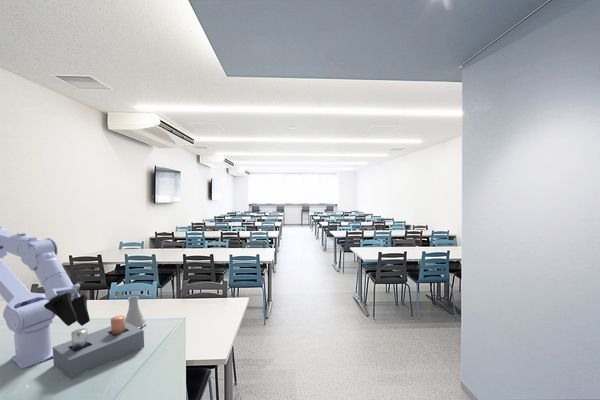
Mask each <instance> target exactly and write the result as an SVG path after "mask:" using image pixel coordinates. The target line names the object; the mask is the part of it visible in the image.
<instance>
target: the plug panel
mask: <svg viewBox="0 0 600 400" xmlns="http://www.w3.org/2000/svg"><path fill="white" fill-rule="evenodd" d="M125 331H126V332H124V333H122V334H119V335H117V336H113V335H112V334H111V325H110V326H107V327H105V328H104V327H103V328H101V329H98V330H97V331H94V332H91V333H88V347H86V348H83V349H81V350H78V351H73V350H72V339H71V340H69V341H66V342H63V343H61V344H58V345H55V346H52V350H53V357H52V358H53V359H52V360H53V366H54V367H55V368H56V369H58V370H59V371H60V372H61V373H63V374H64V375H65V376H66V377H68V379H70V380H73V379H75V378H77V377H79V376H82V375H84V374H86V373H88V372H87V371H89V372H90V370H91V371H93V370H95V369H97V368H99V367H102V366H105V365H106V364H109V363H111V362H114V361H116V360H117V359H119V358H122V357H124V356H126V355H129V354H130V353H133V352H136V351H138V350H140V349H142V348H144V347H145V334H144V331H145V330H143V328H141V329H140V328H138V327H136V326H133V325H131V324H129V323H127V322H125ZM92 369H93V370H92ZM85 372H86V373H85ZM83 373H84V374H83ZM81 374H82V375H81Z"/></svg>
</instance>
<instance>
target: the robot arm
mask: <svg viewBox="0 0 600 400" xmlns="http://www.w3.org/2000/svg"><path fill="white" fill-rule="evenodd" d="M8 253H9V254H12V255H13V256H17V257H19V258H20V261H21V262H22V263H23V265H26V266H27V267H28V268H29V270H30V271H34V274H35V275H36V277H37V280H39V282H40V285H41V286H42V288H43V290H44V293H39V292H32V291H30V290H29V289H28V288H27V287H26V285H24V284H23V282H22V281H21V280H20V279H19V278H18V277H17V276H16V275H15V274H14V272H13V271H12V269H10V268H9V267H8V266H7V265H6V263H5V262H4V261H3V260H2V259H3V258H5V257H6V256H7V255H8ZM80 287H81V285H80V284H79V283H76V284H73V282H72V281H71V279H70V277H69V275H68V273H67V271H66V270H65V268H64V266H63V265H62V263H61V261H60V260H59V258H58V245H57V243H56V242H55V240H53V239H51V238H50V237H48V238H44V239H39V238H37V237H36V236H30V235H27V233H26V232H17V233H15V234H12V233H10V232H8V229H7V228H6V227H3V226H0V296H1V297H2V298H3V300H4V301H5V302H6V303H7V304H6V305H5V307H4V309H3V312H2V318H3V319H4V320H5V322H6V327H7V328H8V330H10V331H12V332H13V333H14V335H13V336H14V338H13V339H14V352H15V353H14V355H11V357H10V359H12V361H13V362H14V363H15V364H16V365H18V366H19V367H20V369H26V368H29V367H31V366H33V365H36V364H39V363H42V362H44V361H46V360H49V359H52V358H53V351H52V350H53V349H52V339H51V338H52V337H51V327H50V325H51V324H53V319H55V317H56V316H57V317H58V318H59V319H60V320H61V321H62V322H63V323H64V324H65V325H66V326H67V327H70V326H71V325H73V324H74V323H76V322H77V323H78V324H79V325H80V326H85V325H86V324H87V323H89V322H90V321H91V319H90V315H89V311H88V296H87V295H86V294H82V295H80V294H79V292H78V289H79V288H80ZM51 349H52V350H51ZM51 357H52V358H51Z"/></svg>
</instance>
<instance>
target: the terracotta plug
mask: <svg viewBox="0 0 600 400" xmlns="http://www.w3.org/2000/svg"><path fill="white" fill-rule="evenodd" d="M125 319H126V317H125V315H116V316H113V317H111V318H110V326H111V334H112V335H113V336H117V335H119V334H122V333H124V332H126V331H125Z"/></svg>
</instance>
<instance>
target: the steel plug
mask: <svg viewBox="0 0 600 400" xmlns="http://www.w3.org/2000/svg"><path fill="white" fill-rule="evenodd" d="M88 332H89V331H88V328H78V329H75V330H73V331H71V334H70V335H71V340H72V350H73V351H78V350H81V349H83V348H86V347H88V334H89V333H88Z"/></svg>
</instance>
